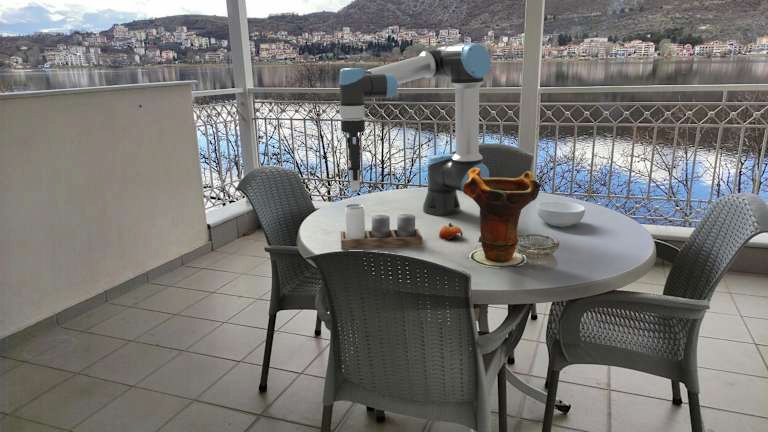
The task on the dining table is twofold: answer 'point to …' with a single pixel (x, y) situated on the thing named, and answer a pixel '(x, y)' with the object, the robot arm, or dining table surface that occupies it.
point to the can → (354, 222)
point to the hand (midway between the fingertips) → (354, 185)
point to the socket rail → (381, 241)
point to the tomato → (449, 232)
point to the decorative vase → (499, 215)
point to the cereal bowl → (560, 213)
